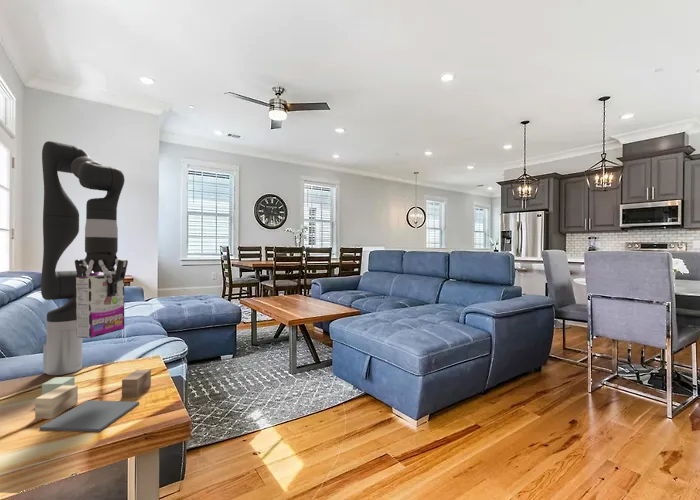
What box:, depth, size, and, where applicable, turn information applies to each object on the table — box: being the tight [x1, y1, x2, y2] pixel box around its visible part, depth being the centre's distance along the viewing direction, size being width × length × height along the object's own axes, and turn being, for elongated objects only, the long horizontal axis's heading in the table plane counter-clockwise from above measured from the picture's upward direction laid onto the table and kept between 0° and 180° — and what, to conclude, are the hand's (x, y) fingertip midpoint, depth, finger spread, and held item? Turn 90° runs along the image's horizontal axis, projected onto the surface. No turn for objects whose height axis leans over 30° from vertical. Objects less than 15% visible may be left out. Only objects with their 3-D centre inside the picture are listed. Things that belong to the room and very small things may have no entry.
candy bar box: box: [76, 274, 125, 339], centre depth 98 cm, size 11×5×16 cm, turn 169°
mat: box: [39, 399, 140, 433], centre depth 85 cm, size 14×14×1 cm
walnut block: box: [121, 369, 152, 398], centre depth 100 cm, size 8×4×5 cm, turn 5°
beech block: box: [34, 385, 79, 420], centre depth 88 cm, size 8×4×5 cm, turn 0°
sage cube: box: [41, 376, 76, 396], centre depth 95 cm, size 5×5×5 cm
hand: (101, 295), depth 98 cm, fingers closed on candy bar box, 5 cm apart
